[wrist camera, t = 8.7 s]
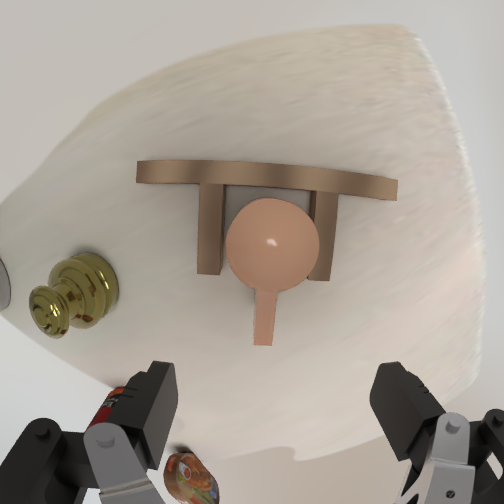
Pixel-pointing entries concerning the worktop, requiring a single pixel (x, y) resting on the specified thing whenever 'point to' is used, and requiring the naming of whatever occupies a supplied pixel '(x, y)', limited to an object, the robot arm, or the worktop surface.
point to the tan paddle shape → (271, 255)
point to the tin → (190, 480)
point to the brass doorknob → (74, 295)
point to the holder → (264, 175)
